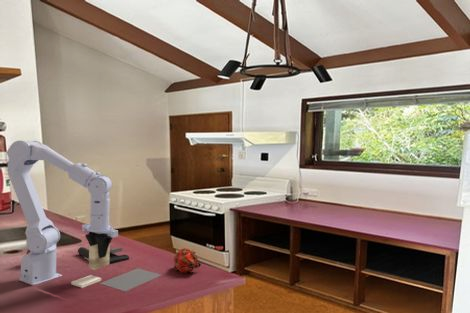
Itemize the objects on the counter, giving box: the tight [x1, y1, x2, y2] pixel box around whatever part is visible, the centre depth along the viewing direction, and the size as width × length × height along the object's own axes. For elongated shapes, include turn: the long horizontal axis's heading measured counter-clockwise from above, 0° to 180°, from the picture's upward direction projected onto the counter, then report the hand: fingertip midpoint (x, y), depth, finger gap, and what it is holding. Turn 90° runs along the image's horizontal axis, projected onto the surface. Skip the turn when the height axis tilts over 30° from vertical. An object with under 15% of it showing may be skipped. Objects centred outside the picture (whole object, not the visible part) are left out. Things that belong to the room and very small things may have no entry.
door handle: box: [77, 247, 130, 265], centre depth 137 cm, size 3×20×16 cm
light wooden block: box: [88, 243, 111, 271], centre depth 114 cm, size 6×2×7 cm, turn 151°
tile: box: [70, 274, 102, 289], centre depth 110 cm, size 2×5×7 cm
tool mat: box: [99, 268, 162, 293], centre depth 114 cm, size 16×11×1 cm
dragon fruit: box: [173, 247, 202, 275], centre depth 123 cm, size 8×8×12 cm
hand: (99, 256), depth 114 cm, fingers closed on light wooden block, 2 cm apart
